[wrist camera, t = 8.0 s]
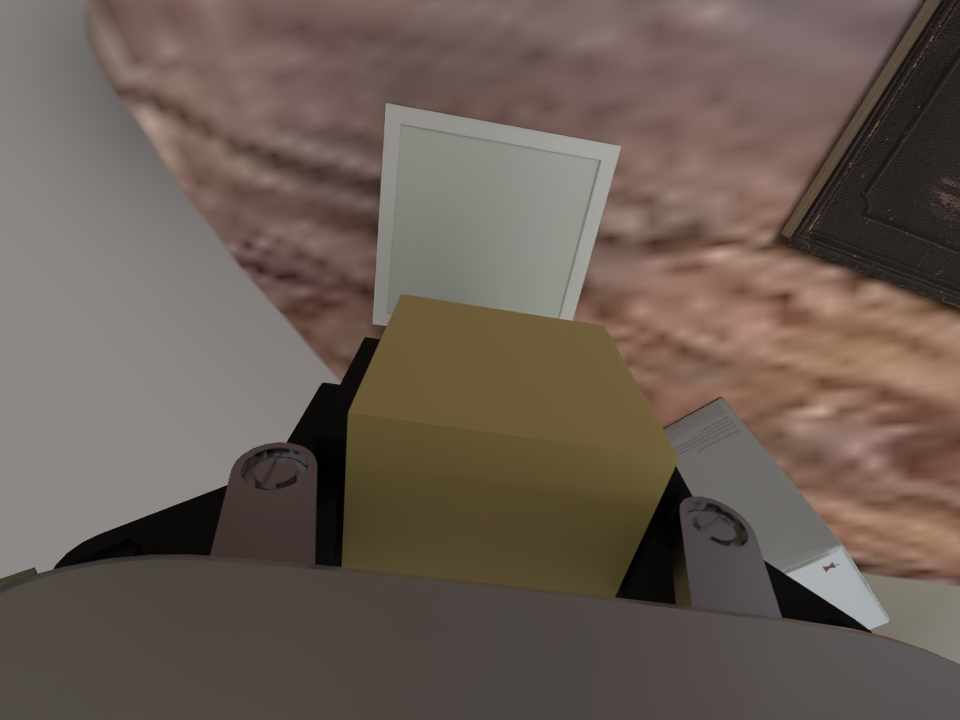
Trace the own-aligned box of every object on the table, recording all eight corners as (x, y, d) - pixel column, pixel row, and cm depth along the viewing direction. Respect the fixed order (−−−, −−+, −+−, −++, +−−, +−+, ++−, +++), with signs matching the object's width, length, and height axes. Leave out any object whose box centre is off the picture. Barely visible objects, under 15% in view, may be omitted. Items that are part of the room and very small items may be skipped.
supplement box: (627, 446, 34) (697, 608, 23) (723, 393, 32) (850, 545, 21) (674, 505, 37) (757, 676, 26) (765, 460, 35) (898, 625, 24)
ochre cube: (401, 293, 11) (347, 412, 7) (603, 325, 12) (679, 458, 7) (386, 456, 13) (339, 624, 9) (555, 478, 14) (589, 651, 9)
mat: (389, 103, 24) (385, 103, 23) (616, 145, 25) (621, 146, 24) (375, 317, 30) (372, 323, 29) (561, 345, 30) (563, 352, 30)
